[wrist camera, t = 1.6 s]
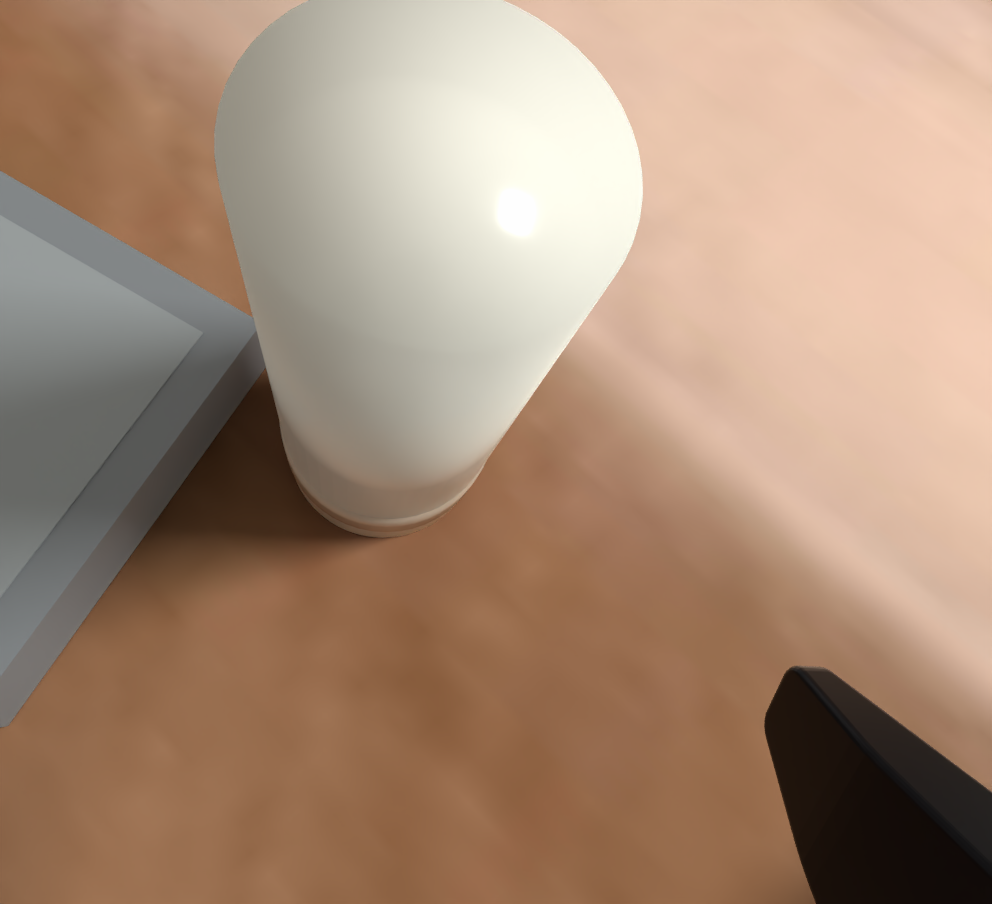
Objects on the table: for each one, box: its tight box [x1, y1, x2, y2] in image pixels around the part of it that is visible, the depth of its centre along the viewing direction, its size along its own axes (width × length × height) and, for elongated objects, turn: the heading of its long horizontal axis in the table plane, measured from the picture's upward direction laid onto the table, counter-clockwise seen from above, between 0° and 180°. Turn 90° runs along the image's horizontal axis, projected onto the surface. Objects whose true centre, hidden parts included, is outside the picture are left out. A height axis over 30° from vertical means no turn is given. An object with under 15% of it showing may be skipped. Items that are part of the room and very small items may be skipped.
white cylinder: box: [215, 0, 643, 538], centre depth 15 cm, size 5×5×13 cm
